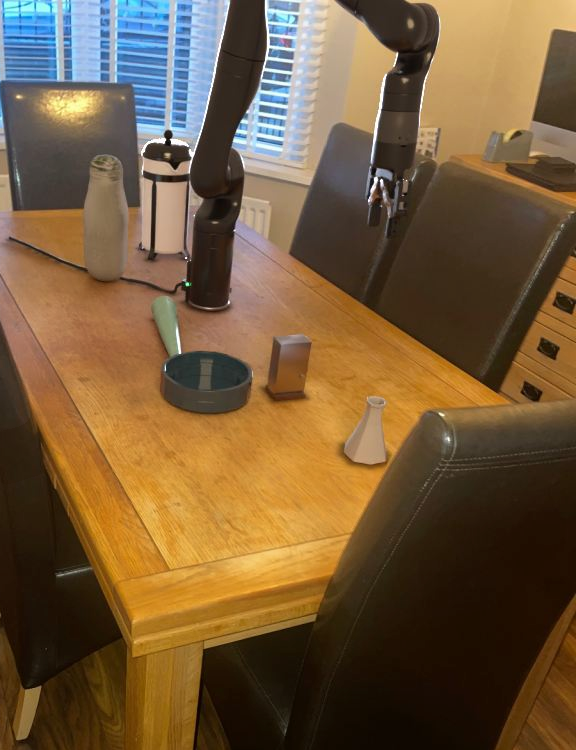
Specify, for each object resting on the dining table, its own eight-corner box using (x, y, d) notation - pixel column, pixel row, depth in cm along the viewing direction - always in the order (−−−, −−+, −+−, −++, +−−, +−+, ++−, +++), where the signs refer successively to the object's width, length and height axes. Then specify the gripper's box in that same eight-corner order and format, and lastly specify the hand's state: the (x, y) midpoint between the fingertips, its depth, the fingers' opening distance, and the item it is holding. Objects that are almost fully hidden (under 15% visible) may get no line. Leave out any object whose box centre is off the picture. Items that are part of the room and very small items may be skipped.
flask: (338, 442, 133) (348, 389, 127) (379, 442, 134) (392, 390, 128) (348, 465, 127) (360, 411, 121) (392, 465, 128) (405, 411, 122)
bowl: (142, 395, 142) (142, 370, 140) (196, 367, 153) (197, 343, 150) (215, 426, 135) (217, 400, 132) (266, 394, 146) (269, 369, 143)
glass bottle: (78, 282, 187) (74, 156, 171) (98, 269, 195) (96, 148, 178) (115, 290, 184) (115, 162, 168) (134, 277, 192) (135, 154, 176)
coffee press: (204, 252, 211) (212, 130, 193) (171, 266, 200) (177, 139, 182) (151, 238, 218) (155, 119, 200) (117, 252, 207) (117, 127, 189)
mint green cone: (166, 348, 147) (151, 295, 168) (165, 375, 150) (150, 320, 171) (195, 348, 147) (176, 295, 169) (193, 375, 151) (175, 319, 172)
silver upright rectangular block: (294, 385, 149) (302, 332, 143) (305, 397, 146) (313, 343, 139) (265, 388, 148) (271, 334, 141) (275, 400, 144) (282, 346, 138)
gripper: (360, 131, 143) (349, 223, 152) (391, 145, 132) (377, 243, 141) (398, 131, 144) (385, 221, 154) (433, 144, 133) (416, 241, 142)
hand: (381, 232), depth 147 cm, fingers open, 8 cm apart
